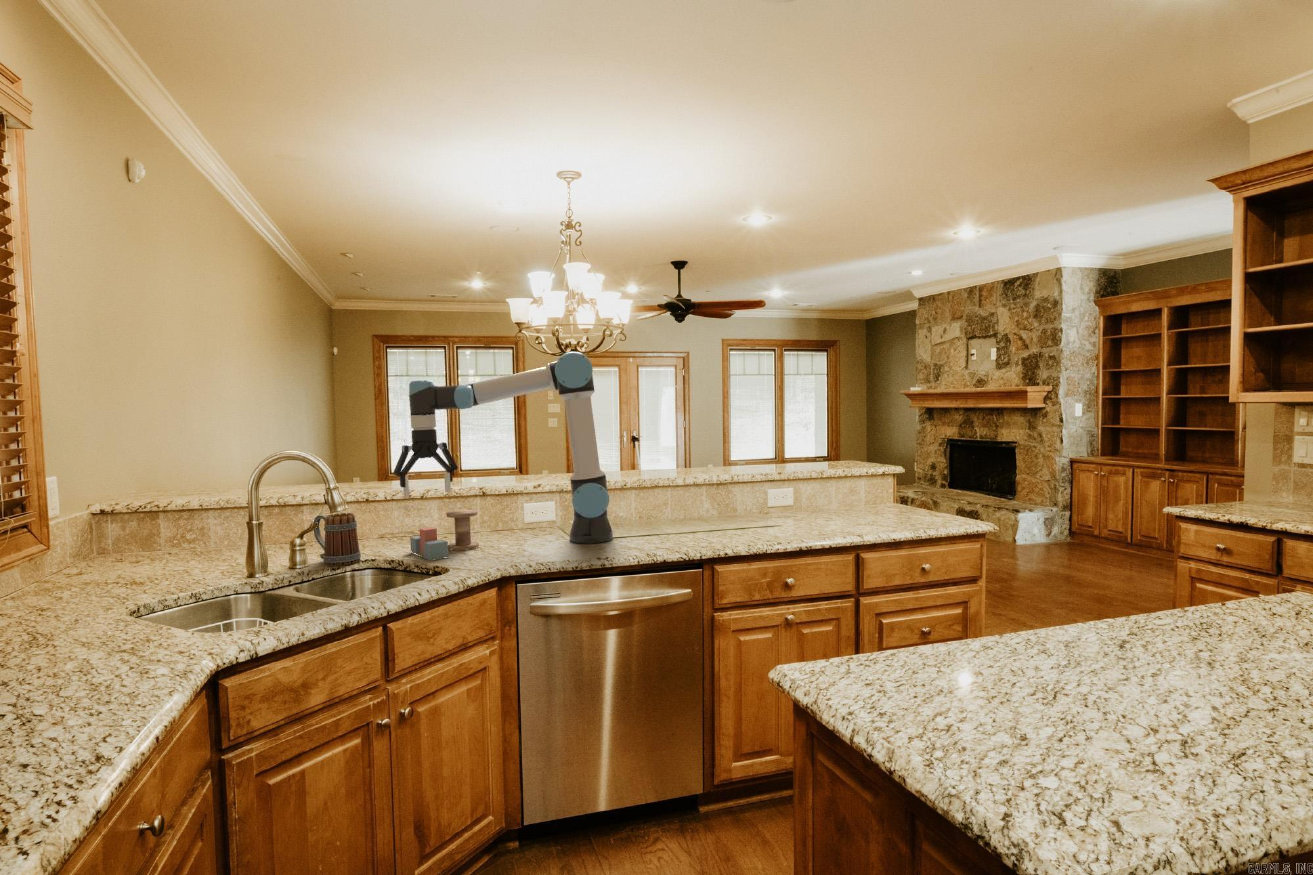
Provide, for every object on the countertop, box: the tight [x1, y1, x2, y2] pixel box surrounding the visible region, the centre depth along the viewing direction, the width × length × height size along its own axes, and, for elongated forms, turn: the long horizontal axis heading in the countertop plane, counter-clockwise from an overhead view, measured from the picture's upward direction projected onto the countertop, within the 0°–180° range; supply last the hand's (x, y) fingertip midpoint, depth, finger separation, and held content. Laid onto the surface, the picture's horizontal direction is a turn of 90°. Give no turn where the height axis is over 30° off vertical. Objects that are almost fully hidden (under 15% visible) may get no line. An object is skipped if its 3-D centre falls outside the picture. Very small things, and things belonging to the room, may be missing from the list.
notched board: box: [409, 535, 449, 561], centre depth 219 cm, size 16×6×5 cm, turn 40°
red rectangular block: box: [419, 526, 438, 554], centre depth 219 cm, size 4×4×8 cm
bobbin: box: [446, 509, 479, 551], centre depth 229 cm, size 10×10×12 cm
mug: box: [312, 512, 362, 567], centre depth 212 cm, size 16×11×15 cm
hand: (427, 494), depth 218 cm, fingers open, 13 cm apart
